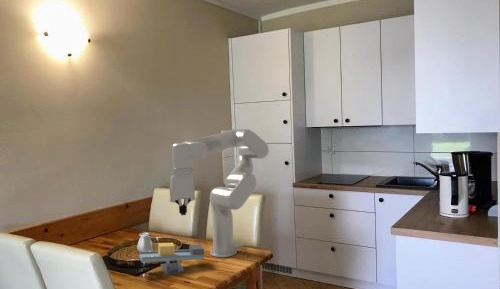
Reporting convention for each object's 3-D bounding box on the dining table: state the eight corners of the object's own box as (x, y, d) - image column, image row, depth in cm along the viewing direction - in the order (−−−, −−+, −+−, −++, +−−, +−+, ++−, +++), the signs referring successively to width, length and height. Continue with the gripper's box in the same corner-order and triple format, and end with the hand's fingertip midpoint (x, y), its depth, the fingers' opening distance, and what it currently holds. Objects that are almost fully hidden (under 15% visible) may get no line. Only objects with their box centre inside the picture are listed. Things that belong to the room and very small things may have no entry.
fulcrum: (178, 263, 172) (178, 253, 172) (184, 272, 161) (184, 262, 160) (160, 265, 169) (160, 256, 169) (165, 275, 158) (164, 265, 158)
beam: (198, 254, 174) (199, 243, 174) (204, 260, 165) (205, 249, 165) (139, 256, 164) (139, 245, 164) (141, 263, 156) (142, 252, 155)
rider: (171, 253, 167) (172, 242, 167) (173, 256, 162) (174, 246, 162) (157, 253, 165) (158, 243, 165) (159, 257, 160) (160, 246, 160)
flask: (151, 261, 175) (150, 239, 175) (136, 260, 177) (135, 238, 176) (158, 255, 182) (157, 234, 182) (144, 254, 184) (143, 234, 183)
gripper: (197, 170, 171) (198, 211, 172) (162, 172, 165) (164, 214, 166) (201, 171, 164) (202, 214, 165) (165, 174, 158) (167, 218, 159)
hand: (183, 214), depth 165 cm, fingers closed
